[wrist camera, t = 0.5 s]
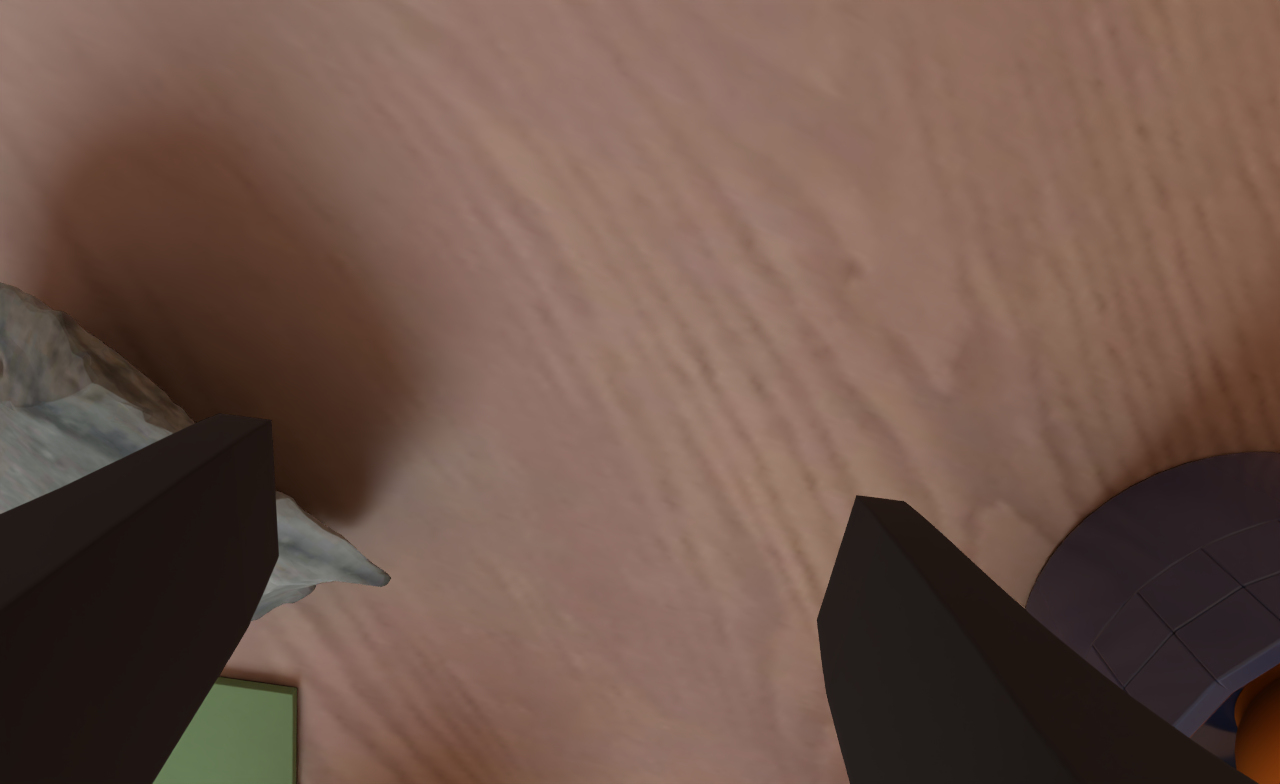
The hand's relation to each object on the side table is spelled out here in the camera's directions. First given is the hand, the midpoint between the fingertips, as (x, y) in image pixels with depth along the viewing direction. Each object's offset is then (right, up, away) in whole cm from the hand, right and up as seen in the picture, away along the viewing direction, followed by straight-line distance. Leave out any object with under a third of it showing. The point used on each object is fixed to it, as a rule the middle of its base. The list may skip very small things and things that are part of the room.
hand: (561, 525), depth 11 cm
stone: (-11, 0, +12) cm, 16 cm away
